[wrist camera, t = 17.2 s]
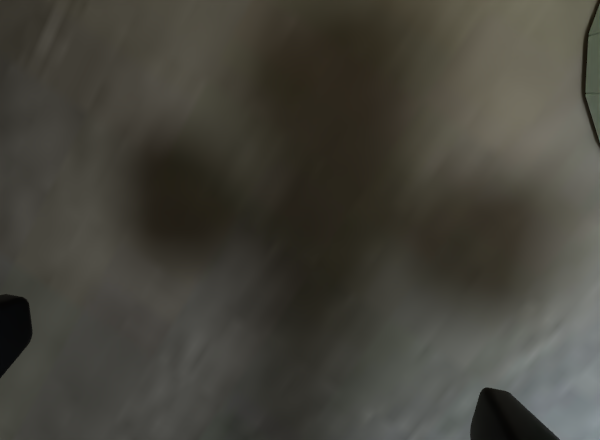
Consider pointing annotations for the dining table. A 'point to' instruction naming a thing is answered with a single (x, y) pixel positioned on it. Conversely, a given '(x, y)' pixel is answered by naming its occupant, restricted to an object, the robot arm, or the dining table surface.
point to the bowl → (594, 72)
